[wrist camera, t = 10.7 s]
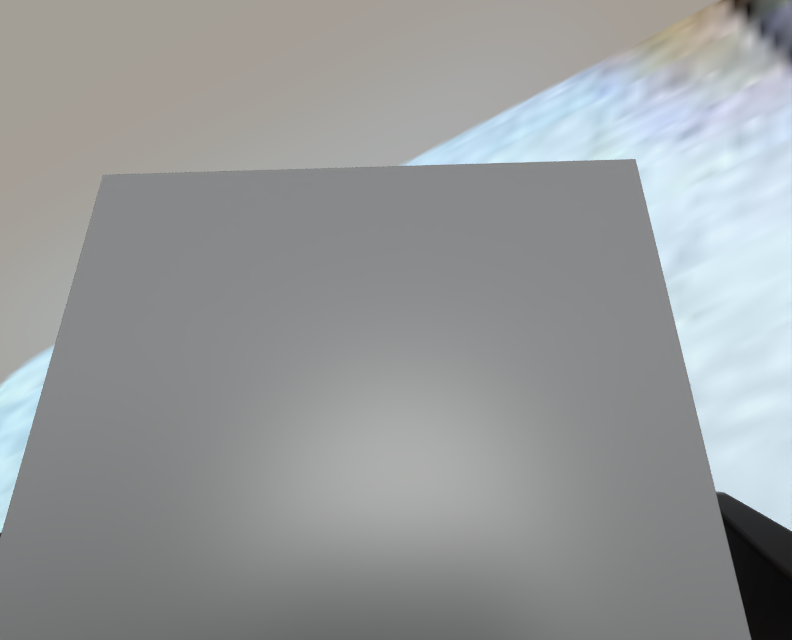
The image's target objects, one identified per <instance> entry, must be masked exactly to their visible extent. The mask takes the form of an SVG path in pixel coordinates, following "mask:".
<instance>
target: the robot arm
mask: <svg viewBox="0 0 792 640" xmlns="http://www.w3.org/2000/svg"><path fill="white" fill-rule="evenodd" d="M716 495H717V499H718V504H719V508H720V512H721V516H722V520H723V524H724V528H725V533H726V537H727V541H728V545H729V549H730V553H731V557H732V562H733V566H734V570H735V574H736V578H737V582H738V586H739V591H740V595H741V599H742V603H743V607H744V611H745V615H746V620H747V624H748V628H749V632H750V636H751V640H792V531H790V530H789V529H787V528H785V527H783V526H782V525H780V524H778V523H776V522H775V521H773V520H771V519H769V518H768V517H766V516H764V515H763V514H761V513H759V512H757V511H756V510H754V509H752V508H750V507H749V506H747V505H745V504H743V503H742V502H740V501H738V500H737V499H735V498H733V497H731V496H730V495H728V494H726V493H723V492H716ZM1 533H2V532H1ZM1 533H0V537H1Z"/></svg>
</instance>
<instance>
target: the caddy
mask: <svg viewBox="0 0 792 640" xmlns="http://www.w3.org/2000/svg"><path fill="white" fill-rule="evenodd" d="M0 640H751V636H750V632H749V628H748V624H747V620H746V615H745V611H744V607H743V603H742V599H741V595H740V591H739V586H738V582H737V578H736V574H735V570H734V566H733V562H732V557H731V553H730V549H729V545H728V541H727V537H726V533H725V528H724V524H723V520H722V516H721V512H720V508H719V504H718V499H717V495H716V491H715V487H714V483H713V479H712V475H711V470H710V466H709V462H708V458H707V454H706V450H705V446H704V441H703V437H702V433H701V429H700V425H699V421H698V417H697V412H696V408H695V404H694V400H693V396H692V392H691V388H690V383H689V379H688V375H687V371H686V367H685V363H684V359H683V354H682V350H681V346H680V342H679V338H678V334H677V330H676V325H675V321H674V317H673V313H672V309H671V305H670V301H669V296H668V292H667V288H666V284H665V280H664V276H663V272H662V267H661V263H660V259H659V255H658V251H657V247H656V243H655V239H654V234H653V230H652V226H651V222H650V218H649V214H648V210H647V205H646V201H645V197H644V193H643V189H642V185H641V181H640V176H639V172H638V168H637V164H636V160H635V159H628V160H594V161H560V162H525V163H491V164H457V165H423V166H392V167H391V166H389V167H359V168H358V167H355V168H322V169H287V170H255V171H254V170H253V171H219V172H185V173H152V174H121V175H120V174H118V175H103V177H102V181H101V184H100V188H99V191H98V195H97V198H96V202H95V206H94V209H93V212H92V216H91V219H90V223H89V227H88V230H87V233H86V237H85V241H84V244H83V248H82V251H81V255H80V258H79V262H78V265H77V269H76V272H75V276H74V279H73V283H72V286H71V290H70V293H69V297H68V301H67V304H66V308H65V311H64V315H63V318H62V322H61V326H60V329H59V332H58V336H57V339H56V343H55V346H54V350H53V353H52V357H51V361H50V364H49V368H48V371H47V375H46V378H45V382H44V385H43V389H42V392H41V396H40V399H39V403H38V406H37V410H36V413H35V417H34V421H33V424H32V428H31V431H30V435H29V438H28V442H27V445H26V449H25V452H24V456H23V459H22V463H21V466H20V470H19V473H18V477H17V481H16V484H15V488H14V491H13V495H12V498H11V502H10V505H9V509H8V512H7V516H6V519H5V523H4V526H3V530H2V533H1V537H0Z"/></svg>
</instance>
